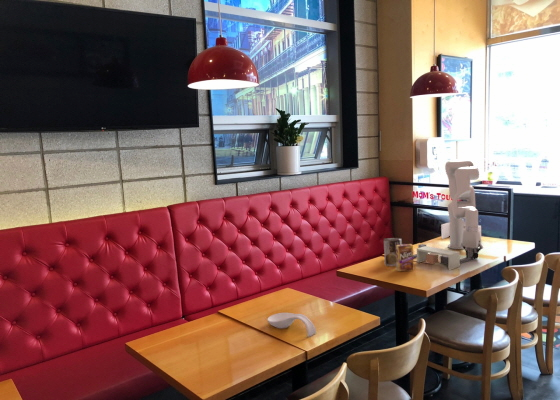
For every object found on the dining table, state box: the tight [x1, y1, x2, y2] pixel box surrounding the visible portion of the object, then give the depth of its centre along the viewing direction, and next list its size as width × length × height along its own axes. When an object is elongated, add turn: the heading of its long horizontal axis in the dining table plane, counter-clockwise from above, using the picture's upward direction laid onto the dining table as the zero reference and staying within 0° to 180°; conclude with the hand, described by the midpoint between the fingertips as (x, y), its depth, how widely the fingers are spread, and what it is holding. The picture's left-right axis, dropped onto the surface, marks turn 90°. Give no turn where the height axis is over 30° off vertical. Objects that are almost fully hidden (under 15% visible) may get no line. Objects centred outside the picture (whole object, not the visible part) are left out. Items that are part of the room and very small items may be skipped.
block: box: [425, 253, 439, 265], centre depth 271 cm, size 5×5×5 cm
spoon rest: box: [267, 312, 317, 338], centre depth 186 cm, size 24×12×7 cm, turn 46°
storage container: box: [440, 221, 482, 240], centre depth 325 cm, size 25×11×11 cm, turn 38°
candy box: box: [396, 243, 414, 272], centre depth 258 cm, size 9×4×15 cm, turn 93°
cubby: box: [416, 245, 461, 270], centre depth 266 cm, size 9×23×9 cm, turn 34°
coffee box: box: [383, 237, 400, 267], centre depth 271 cm, size 9×6×16 cm
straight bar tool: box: [413, 243, 427, 260], centre depth 286 cm, size 16×4×7 cm, turn 124°
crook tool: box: [439, 247, 475, 265], centre depth 270 cm, size 22×10×7 cm, turn 124°
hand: (472, 257), depth 273 cm, fingers open, 4 cm apart
